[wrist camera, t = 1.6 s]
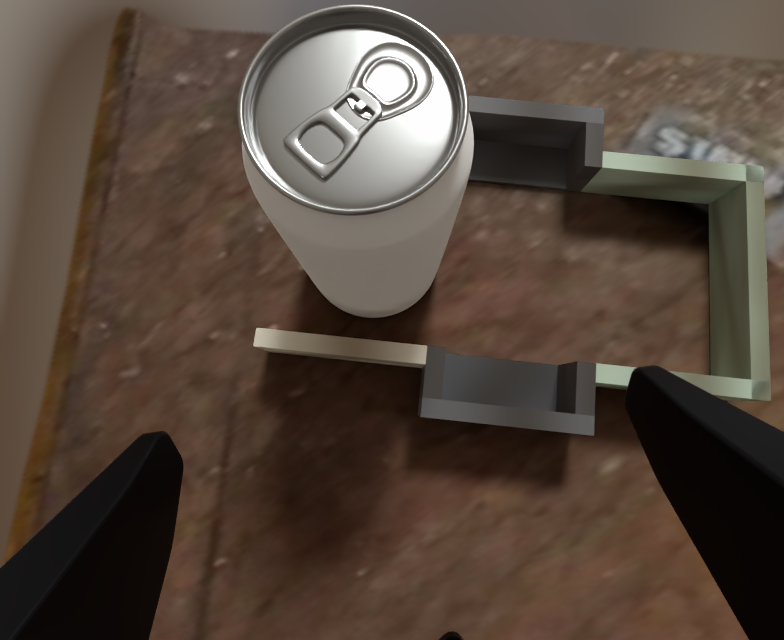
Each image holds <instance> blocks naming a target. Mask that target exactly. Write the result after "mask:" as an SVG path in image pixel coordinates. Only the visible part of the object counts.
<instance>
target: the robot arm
mask: <svg viewBox="0 0 784 640" xmlns="http://www.w3.org/2000/svg"><path fill="white" fill-rule="evenodd" d="M625 407H626V410H627V413H628V415H629V417H630V420H631V422H632V424H633V426H634V429H635V431H636V433H637V436H638V438H639V440H640V442H641V445H642V447H643V449H644V451H645V454H646V456H647V458H648V460H649V463H650V465H651V467H652V469H653V472H654V474H655V476H656V478H657V480H658V482H659V484H660V485H661V487H662V489H663V491H664V493H665V495H666V496H667V498H668V500H669V501H670V503H671V505H672V507H673V508H674V510H675V512H676V514H677V515H678V517H679V519H680V521H681V522H682V524H683V526H684V528H685V529H686V531H687V533H688V534H689V536H690V538H691V540H692V541H693V543H694V545H695V547H696V548H697V550H698V552H699V554H700V555H701V557H702V559H703V561H704V562H705V564H706V566H707V567H708V569H709V571H710V573H711V574H712V576H713V578H714V580H715V581H716V583H717V585H718V587H719V588H720V590H721V592H722V594H723V595H724V597H725V599H726V600H727V602H728V604H729V606H730V607H731V609H732V611H733V613H734V614H735V616H736V618H737V620H738V621H739V623H740V625H741V627H742V628H743V630H744V632H745V633H746V635H747V637H748V639H749V640H784V432H783V431H781V430H779V429H777V428H775V427H773V426H771V425H769V424H767V423H765V422H764V421H762V420H760V419H758V418H756V417H754V416H752V415H750V414H748V413H747V412H745V411H743V410H741V409H739V408H737V407H735V406H733V405H731V404H729V403H728V402H726V401H724V400H722V399H720V398H718V397H716V396H714V395H712V394H711V393H709V392H707V391H705V390H703V389H701V388H699V387H697V386H695V385H693V384H692V383H690V382H688V381H686V380H684V379H682V378H680V377H678V376H676V375H675V374H673V373H671V372H669V371H667V370H665V369H663V368H661V367H659V366H645V367H638V368H635V369H634V370H633V371H632V373H631V377H630V380H629V384H628V387H627V391H626V395H625ZM182 476H183V460H182V457H181V455H180V453H179V452H178V450H177V448H176V446H175V445H174V443H173V441H172V439H171V438H170V436H169V434H168V433H166V432H165V431H159V432H151V433H145V434H142V435H141V436H139V437H138V438H137V439H136V440H135V441H134V442H133V443H132V444H131V445H130V446H129V447H128V448H127V449H125V450H124V451H123V452H122V453H121V454H120V455H119V456H118V457H117V458H116V459H115V460H114V461H113V462H112V463H111V464H110V465H109V466H108V467H106V468H105V469H104V470H103V471H102V472H101V473H100V474H99V475H98V476H97V477H96V478H95V479H94V480H93V481H92V482H91V483H90V484H89V485H87V486H86V487H85V488H84V489H83V490H82V491H81V492H80V493H79V494H78V495H77V496H76V497H75V498H74V499H73V500H72V501H71V502H70V503H68V504H67V505H66V506H65V507H64V508H63V509H62V510H61V511H60V512H59V513H58V514H57V515H56V516H55V517H54V518H53V519H52V520H51V521H49V522H48V523H47V524H46V525H45V526H44V527H43V528H42V529H41V530H40V531H39V532H38V533H37V534H36V535H35V536H34V537H33V538H32V539H30V540H29V541H28V542H27V543H26V544H25V545H24V546H23V547H22V548H21V549H20V550H19V551H18V552H17V553H16V554H15V555H14V556H13V557H11V558H10V559H9V560H8V561H7V562H6V563H5V564H4V565H3V566H2V567H1V568H0V640H149V636H150V632H151V628H152V624H153V620H154V617H155V613H156V609H157V605H158V601H159V597H160V593H161V589H162V585H163V582H164V578H165V574H166V570H167V566H168V562H169V558H170V553H171V549H172V544H173V538H174V532H175V525H176V518H177V511H178V504H179V497H180V490H181V483H182ZM439 640H463V638H462V637H461V636H460V635H459V634H458V633H456V632H448V633H446V634H444V635H443V636H442V637H441V638H440V639H439Z"/></svg>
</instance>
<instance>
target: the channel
mask: <svg viewBox="0 0 784 640" xmlns="http://www.w3.org/2000/svg"><path fill="white" fill-rule="evenodd" d="M468 101H469V114H470V117H471V121H472V126H473V135H474V150H473V159H472V166H471V171H470V175H469V178H468V181H474V182H485V183H495V184H505V185H516V186H526V187H536V188H546V189H557V190H567V191H577V192H588V193H598V194H608V195H619V196H629V197H639V198H649V199H660V200H670V201H680V202H691V203H701V204H709V281H710V371H711V375H701V374H692V373H682V372H673V371H669V372H671V373H673V374H675V375H676V376H678V377H680V378H682V379H684V380H686V381H688V382H690V383H692V384H693V385H695V386H697V387H699V388H701V389H703V390H705V391H707V392H709V393H711V394H712V395H714V396H716V397H718V398H720V399H722V400H726V401H771V384H770V353H769V323H768V293H767V262H766V232H765V202H764V171H763V167H762V166H751V165H741V164H730V163H720V162H709V161H699V160H688V159H678V158H667V157H657V156H646V155H636V154H625V153H615V152H604V151H603V130H604V108H596V107H586V106H575V105H564V104H553V103H543V102H532V101H521V100H510V99H500V98H489V97H478V96H468ZM254 346H255V347H257V348H260V349H263V350H265V351H268V352H275V353H284V354H293V355H303V356H312V357H322V358H331V359H340V360H350V361H359V362H369V363H378V364H388V365H397V366H406V367H416V368H422V373H421V383H420V394H419V405H418V415H419V416H420V417H426V418H435V419H444V420H453V421H463V422H472V423H481V424H490V425H499V426H509V427H518V428H527V429H536V430H545V431H555V432H564V433H573V434H582V435H592V436H594V421H595V389H596V387H604V388H614V389H623V390H627V387H628V384H629V380H630V377H631V373H632V371H633V370H634V369H635V367H625V366H616V365H606V364H597V363H587V362H572V363H567V364H562V365H550V364H541V363H531V362H522V361H512V360H503V359H493V358H484V357H474V356H465V355H455V354H446V348H444V347H435V346H425V345H416V344H406V343H397V342H387V341H378V340H368V339H359V338H349V337H340V336H330V335H321V334H311V333H302V332H292V331H283V330H273V329H264V328H256V333H255V339H254Z"/></svg>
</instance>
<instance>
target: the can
mask: <svg viewBox="0 0 784 640" xmlns="http://www.w3.org/2000/svg"><path fill="white" fill-rule="evenodd" d="M238 124H239V130H240V135H241V139H242V154H243V162H244V167H245V171H246V175H247V178H248V180H249V183H250V185H251V188H252V190H253V192H254V194H255V196H256V198H257V200H258V202H259V203H260V205H261V207H262V208H263V210H264V212H265V213H266V215H267V216H268V218H269V219H270V221H271V222H272V224H273V225H274V227H275V228H276V230H277V231H278V232H279V234H280V235H281V237H282V238H283V240H284V241H285V243H286V244H287V246H288V247H289V248H290V250H291V251H292V253H293V254H294V256H295V257H296V259H297V260H298V261H299V263H300V264H301V266H302V267H303V269H304V270H305V271H306V273H307V274H308V276H309V277H310V278H311V280H312V281H313V283H314V284H315V285H316V287H317V288H318V289H319V291H320V292H321V293H322V294H323V295H324V297H325V298H326V299H327V300H329V301H330V302H331V303H332V304H333V305H335V306H336V307H338V308H339V309H341V310H343V311H345V312H347V313H350V314H353V315H356V316H360V317H368V318H379V317H386V316H391V315H394V314H397V313H399V312H402V311H404V310H406V309H407V308H409V307H411V306H412V305H413V304H415V303H416V302H417V301H418V300H419V299H420V298H421V297H422V296H423V295H424V294H425V293H426V292H427V290H428V289H429V287H430V286H431V284H432V282H433V280H434V278H435V276H436V273H437V271H438V268H439V265H440V262H441V260H442V257H443V254H444V251H445V248H446V245H447V242H448V240H449V237H450V234H451V231H452V228H453V225H454V222H455V219H456V216H457V213H458V210H459V207H460V204H461V201H462V198H463V195H464V192H465V189H466V185H467V182H468V178H469V175H470V171H471V166H472V159H473V150H474V135H473V126H472V121H471V117H470V114H469V101H468V92H467V87H466V83H465V80H464V77H463V74H462V71H461V69H460V67H459V65H458V63H457V61H456V59H455V58H454V56H453V54H452V53H451V51H450V50H449V49H448V47H447V46H446V45H445V44H444V43H443V41H442V40H441V39H440V38H439V37H438V36H437V35H435V34H434V33H433V32H432V31H431V30H430V29H428V28H427V27H426V26H424V25H423V24H421V23H420V22H418V21H416V20H414V19H413V18H411V17H409V16H406V15H404V14H402V13H399V12H397V11H394V10H390V9H387V8H383V7H378V6H372V5H359V4H358V5H357V4H351V5H339V6H332V7H327V8H323V9H319V10H316V11H314V12H310V13H308V14H305V15H303V16H301V17H299V18H297V19H295V20H293V21H292V22H290V23H288V24H287V25H285V26H284V27H282V28H281V29H280V30H278V31H277V32H276V33H275V34H274V35H273V36H271V37H270V38H269V39H268V40H267V41H266V42H265V43H264V45H263V46H262V47H261V48H260V49H259V51H258V52H257V53H256V55H255V56H254V58H253V59H252V61H251V63H250V65H249V67H248V69H247V71H246V73H245V75H244V78H243V81H242V84H241V88H240V92H239V98H238Z"/></svg>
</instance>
